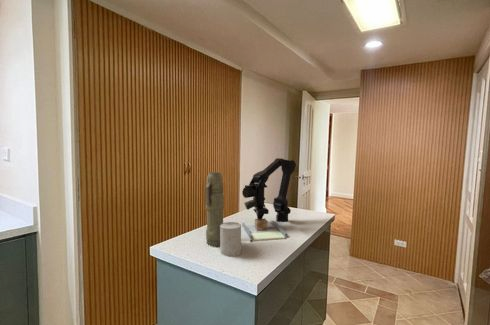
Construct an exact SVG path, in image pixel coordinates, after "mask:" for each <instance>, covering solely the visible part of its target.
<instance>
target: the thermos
mask: <svg viewBox="0 0 490 325" xmlns="http://www.w3.org/2000/svg"><path fill="white" fill-rule="evenodd" d="M205 209H206V229H205V238H206V245H207V244H208V245H207V246H209V245H210V246H209V247H220V225H221V224H223V223H224V209H225V197H224V183H223V176H222V173H220V172H218V171H217V172H216V171H215V172H214V171H213V172H211V171H210V172H209V173H208V174H207V176H206V185H205Z"/></svg>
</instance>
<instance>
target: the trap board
mask: <svg viewBox="0 0 490 325" xmlns="http://www.w3.org/2000/svg"><path fill="white" fill-rule="evenodd" d="M241 227H242V228H243V230H244V232H245V233H246V234H247V237H248V238H249V239H250V240H249V241H250V242H251V243H253V242H265V241H279V240H280V241H281V240H287V239H288V238H287V236H288V234H287V233H288V232H286V231H285V230H284V229H283V228H282V227H281V226H280V225H278V224H277V222H275V220H272V221H271V223H270V224H269V223H268V230H265V231H257V230H256V229H255V224H253V225H252V224H251V225H246V224H245V222H242V223H241ZM269 228H274V229H269ZM251 232H253V233H251Z"/></svg>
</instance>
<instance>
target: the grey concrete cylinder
mask: <svg viewBox="0 0 490 325" xmlns="http://www.w3.org/2000/svg"><path fill="white" fill-rule="evenodd" d="M219 247H220V248H219V249H220V251H219V253H220V254H221V255H223V256H225V257H235V256H239V255H240V254H242V223H239V222H235V221H234V222H233V221H229V222H223V224H221V225H220V246H219Z"/></svg>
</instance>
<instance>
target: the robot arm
mask: <svg viewBox="0 0 490 325" xmlns="http://www.w3.org/2000/svg"><path fill="white" fill-rule="evenodd" d="M296 166H297V165H296V162H295V160H293V159H285V158H282V157H281V158H280V157H278V158H275V159H274V160H273V161H272V162H271V163H270V164H268V165H267V166H266V167H265V168H264V169H263V170H260V171H258V172H256V173H254V174H253V175H252V178H251V180H250V182H249V184H248V185H247V184H246V185H244V187H243V189H242V196H243V198H245V199H247V198H248V199H249V198H252V199H250V200H248V201H246V202H244V207H245V209H246V210H250V209H252V208H253V212H254V213H255V214H256V219H264V218H263V217H264V216H265V215H269V214H270V212H269V211H270V210H269V209H268V208H267V207H266V205H265V201H266V197H265V188H268V185H267V184H266V183H267V181H268V180H269V178H270V176H271V175H272V174H274V172H276V170H278V169H279V168H280V167H281V171H282V176H281V181H280V187H279V190H278V196H277V197H274V199H273V203H272V207H273V209H274V211H275V213H276V215H275V218H276V220H275V221H276V223H277V222H280V223H286V222H289V215H290V214H291V210H292V209H291V208H290V207H289V203H288V199H287V196H288V192H289V186H290V181H291V176H292V174H293V173H294V172H295V170H296Z"/></svg>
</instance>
